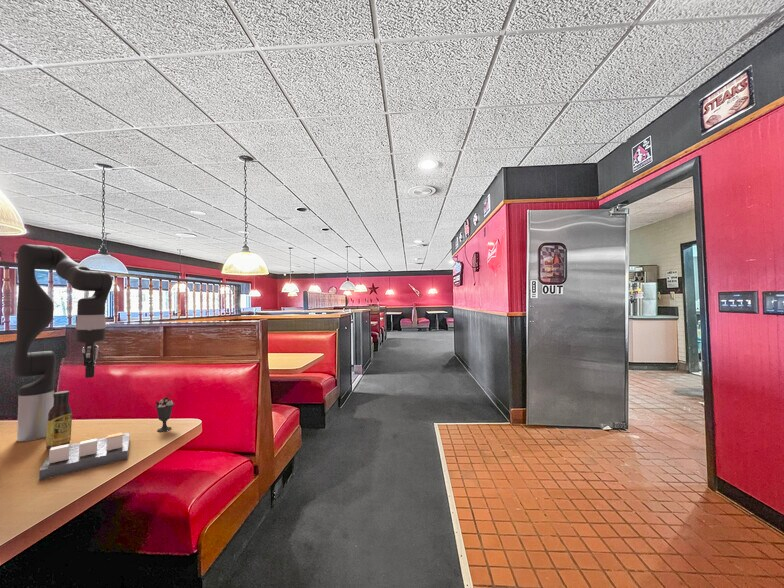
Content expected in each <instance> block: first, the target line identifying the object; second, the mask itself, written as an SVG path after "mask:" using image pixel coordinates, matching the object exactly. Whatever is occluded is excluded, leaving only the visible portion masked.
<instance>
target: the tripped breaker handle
mask: <svg viewBox="0 0 784 588" xmlns="http://www.w3.org/2000/svg"><path fill="white" fill-rule="evenodd" d="M123 434H124V432H117V433H113V434H108V435H107V436H106V437H107V438H106V439H107V447H106V451H108V450H113V449H117V448H122V446H123Z"/></svg>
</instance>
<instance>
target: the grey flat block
mask: <svg viewBox="0 0 784 588" xmlns="http://www.w3.org/2000/svg"><path fill="white" fill-rule="evenodd" d="M130 434H131V433H130V432H125V433H123V446H122V448H117V449H113V450H108V451H106V447H107V439H106V438H107V436H106V437H100V438H97V452H96V453H94V454H90V455H85V456H81V457H79V444H80V442H75V443H70V446H69V458H68V459H67V460H63V461H58V462H54V463H49V455H48V456H47V457H46V459H45V461H44V463H43V464H42V466H41V467H40V468H39V476H38V479H39V481H43V480H47V479H50V478H51V479H52V478H56V477H59V476H63V475H64V476H65V475H67V474H71V473H76V472H80V471H85V470H88V469H93V468H96V467H100V466H106V465H109V464H113V463H117V462H121V461H125V460H128V458H129V448H130V441H131V440H130V439H131V438H130V437H131V436H130ZM129 440H130V441H129Z"/></svg>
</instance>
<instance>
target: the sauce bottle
mask: <svg viewBox="0 0 784 588" xmlns="http://www.w3.org/2000/svg"><path fill="white" fill-rule="evenodd" d="M53 397H54V403H53V407H52V408H51V409H50V411H49V413H48V420H47V433H46V437H45V450H47V451H50V449H51V447H56V446H61V445H66V444H71V440H72V439H71V438H72V423H73V422H72V421H73V411H72V408H71V406H70V403H69V402H70V401H69V397H70V391H69V390H62V391H61V390H60V391H56V392H54V395H53Z"/></svg>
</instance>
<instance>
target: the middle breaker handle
mask: <svg viewBox="0 0 784 588" xmlns="http://www.w3.org/2000/svg"><path fill="white" fill-rule="evenodd" d="M97 439H98V438H93V439H87V440H81V441H80V442H79V443H80V444H79V457H81V456H85V455H90V454H94V453H96V452H97Z"/></svg>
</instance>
